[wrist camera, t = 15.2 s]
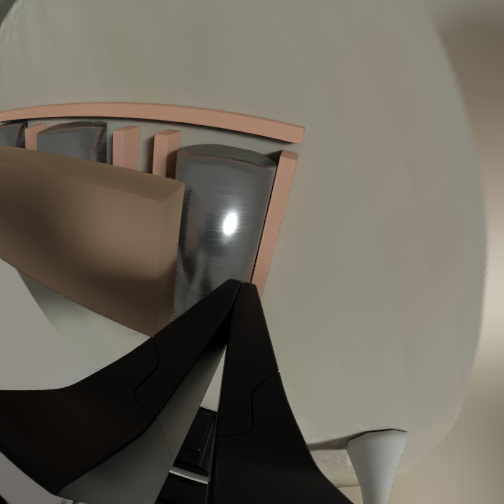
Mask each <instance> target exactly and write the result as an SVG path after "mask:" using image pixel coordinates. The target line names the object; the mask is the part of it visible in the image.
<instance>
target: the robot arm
mask: <svg viewBox="0 0 504 504" xmlns="http://www.w3.org/2000/svg"><path fill="white" fill-rule="evenodd" d="M226 346H227V347H226ZM225 348H226V353H225V360H224V367H223V374H222V381H221V388H220V395H219V402H218V409H217V413H213V412H210V411H207V410H203V409H200V408H199V407H200V404H201V402H202V400H203V398H204V396H205V393H206V391H207V389H208V387H209V385H210V382H211V380H212V378H213V376H214V374H215V371H216V369H217V367H218V365H219V362H220V360H221V358H222V356H223V353H224V351H225ZM278 371H279V369H278V365H277V361H276V358H275V354H274V350H273V346H272V343H271V339H270V335H269V331H268V327H267V324H266V320H265V316H264V312H263V308H262V305H261V301H260V297H259V293H258V289H257V286H256V285H255V284H253V283H248V282H243V283H242V281H240V280H236V279H232V278H229V279H227V280H226V281H225V282H223V283H222V284H221V285H220V286H218V287H217V288H216V289H214V290H213V291H212V292H210V293H209V294H208V295H206V296H205V297H204V298H202V299H201V300H200V301H198V302H197V303H196V304H194V305H193V306H192V307H191V308H189V309H188V310H187V311H185V312H184V313H183V314H181V315H180V316H179V317H177V318H176V319H175V320H173V321H172V322H171V323H169V324H168V325H167V326H165V327H164V328H163V329H161V330H160V331H159V332H157V333H156V334H155V335H154V337H150V338H149V339H148V340H147V341H145V342H144V343H143V344H141V345H140V346H138V347H137V348H135V349H134V350H133V351H131V352H130V353H128V354H126V355H125V356H123V357H122V358H120V359H118V360H117V361H115V362H113V363H111V364H110V365H108V366H106V367H104V368H103V369H101V370H99V371H97V372H95V373H94V374H92V375H90V376H88V377H86V378H85V379H83V380H81V381H79V382H77V383H75V384H73V385H70V386H67V387H64V388H59V389H49V390H0V504H354V503H353V502H351V501H350V500H349V499H348V498H347V497H346V496H345V495H344V494H343V493H342V492H341V491H340V490H339V489H338V488H337V487H336V486H334V485H333V484H332V483H331V482H330V481H329V480H328V479H327V478H326V477H325V476H324V474H323V473H322V472H321V471H320V469H319V468H318V466H317V465H316V463H315V461H314V459H313V457H312V455H311V453H310V451H309V449H308V447H307V444H306V442H305V440H304V438H303V435H302V433H301V431H300V429H299V426H298V424H297V422H296V420H295V417H294V415H293V412H292V410H291V407H290V405H289V402H288V400H287V396H286V393H285V390H284V387H283V384H282V380H281V376H280V373H279V372H278ZM170 470H171V471H174V472H177V473H180V474H183V475H186V476H189V477H192V478H195V479H199V480H203V481H206V482H208V484H205V483H201V482H198V481H195V480H191V479H188V478H185V477H182V476H178V475H176V474H173V473H170V472H169V471H170Z"/></svg>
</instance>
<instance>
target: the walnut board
mask: <svg viewBox="0 0 504 504" xmlns="http://www.w3.org/2000/svg"><path fill="white" fill-rule="evenodd" d="M184 189H185V182H182V181H178V180H174V179H170V178H166V177H162V176H158V175H154V174H149V173H145V172H141V171H137V170H132V169H128V168H123V167H119V166H114V165H110V164H105V163H100V162H95V161H91V160H86V159H81V158H75V157H70V156H65V155H59V154H54V153H47V152H42V151H36V150H30V149H24V148H17V147H11V146H4V145H0V258H1V259H2V260H4V261H5V262H7V263H8V264H10V265H11V266H13V267H14V268H16V269H18V270H19V271H21V272H22V273H24V274H26V275H27V276H29V277H31V278H32V279H34V280H36V281H37V282H39V283H41V284H42V285H44V286H46V287H48V288H49V289H51V290H53V291H55V292H57V293H58V294H60V295H62V296H64V297H66V298H68V299H70V300H72V301H74V302H75V303H77V304H79V305H81V306H83V307H85V308H87V309H89V310H91V311H93V312H96V313H98V314H100V315H102V316H104V317H106V318H108V319H110V320H113V321H115V322H117V323H119V324H122V325H124V326H126V327H128V328H131V329H133V330H135V331H138V332H140V333H143V334H145V335H148V336H150V337H154V335H155V334H156V333H157V332H159V331H160V330H161V329H163V328H164V327H165V326H166V325H167V323H168V322H169V320H170V318H171V316H172V314H173V306H174V289H175V275H176V262H177V251H178V241H179V231H180V222H181V213H182V205H183V197H184Z"/></svg>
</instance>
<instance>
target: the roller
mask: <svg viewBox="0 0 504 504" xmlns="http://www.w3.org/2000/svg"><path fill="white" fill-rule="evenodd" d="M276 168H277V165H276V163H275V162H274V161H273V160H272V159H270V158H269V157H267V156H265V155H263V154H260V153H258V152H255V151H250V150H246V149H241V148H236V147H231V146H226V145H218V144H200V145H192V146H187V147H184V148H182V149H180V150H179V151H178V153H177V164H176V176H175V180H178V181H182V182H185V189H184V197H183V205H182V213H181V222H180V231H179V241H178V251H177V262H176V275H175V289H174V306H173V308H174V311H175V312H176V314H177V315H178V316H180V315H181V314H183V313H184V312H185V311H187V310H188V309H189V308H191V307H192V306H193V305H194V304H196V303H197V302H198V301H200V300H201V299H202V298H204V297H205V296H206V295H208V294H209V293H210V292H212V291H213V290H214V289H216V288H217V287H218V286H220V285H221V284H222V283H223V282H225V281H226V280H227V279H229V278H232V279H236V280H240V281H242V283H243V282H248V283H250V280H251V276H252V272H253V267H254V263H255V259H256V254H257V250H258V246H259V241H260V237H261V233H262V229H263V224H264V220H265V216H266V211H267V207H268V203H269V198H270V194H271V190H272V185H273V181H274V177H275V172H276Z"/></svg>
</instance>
